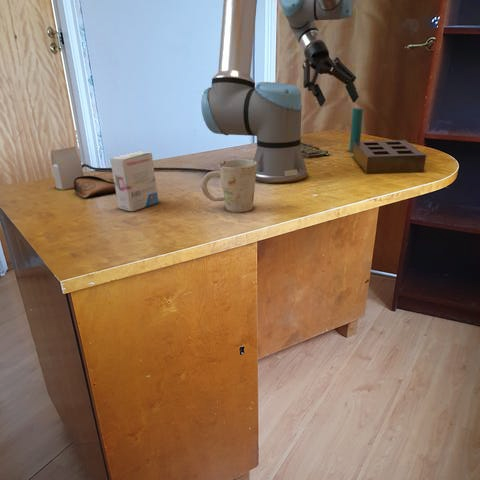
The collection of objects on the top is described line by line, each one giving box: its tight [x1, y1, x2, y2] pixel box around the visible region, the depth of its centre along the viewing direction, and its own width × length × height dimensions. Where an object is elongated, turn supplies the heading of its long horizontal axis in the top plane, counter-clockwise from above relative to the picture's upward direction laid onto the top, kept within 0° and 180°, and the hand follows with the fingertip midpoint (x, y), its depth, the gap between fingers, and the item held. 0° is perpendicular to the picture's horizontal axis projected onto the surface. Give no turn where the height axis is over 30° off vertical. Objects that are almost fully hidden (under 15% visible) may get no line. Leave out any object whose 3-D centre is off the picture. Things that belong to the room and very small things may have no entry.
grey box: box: [50, 145, 85, 191], centre depth 133 cm, size 4×7×10 cm, turn 135°
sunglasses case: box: [73, 171, 116, 199], centre depth 130 cm, size 18×7×7 cm
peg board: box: [352, 139, 427, 174], centre depth 144 cm, size 16×22×4 cm
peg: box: [349, 107, 364, 153], centre depth 159 cm, size 3×3×13 cm
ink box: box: [109, 151, 159, 212], centre depth 114 cm, size 9×5×12 cm, turn 141°
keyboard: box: [300, 141, 329, 159], centre depth 165 cm, size 22×9×2 cm, turn 22°
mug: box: [200, 158, 257, 213], centre depth 110 cm, size 8×13×10 cm, turn 89°
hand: (339, 101), depth 162 cm, fingers open, 13 cm apart
